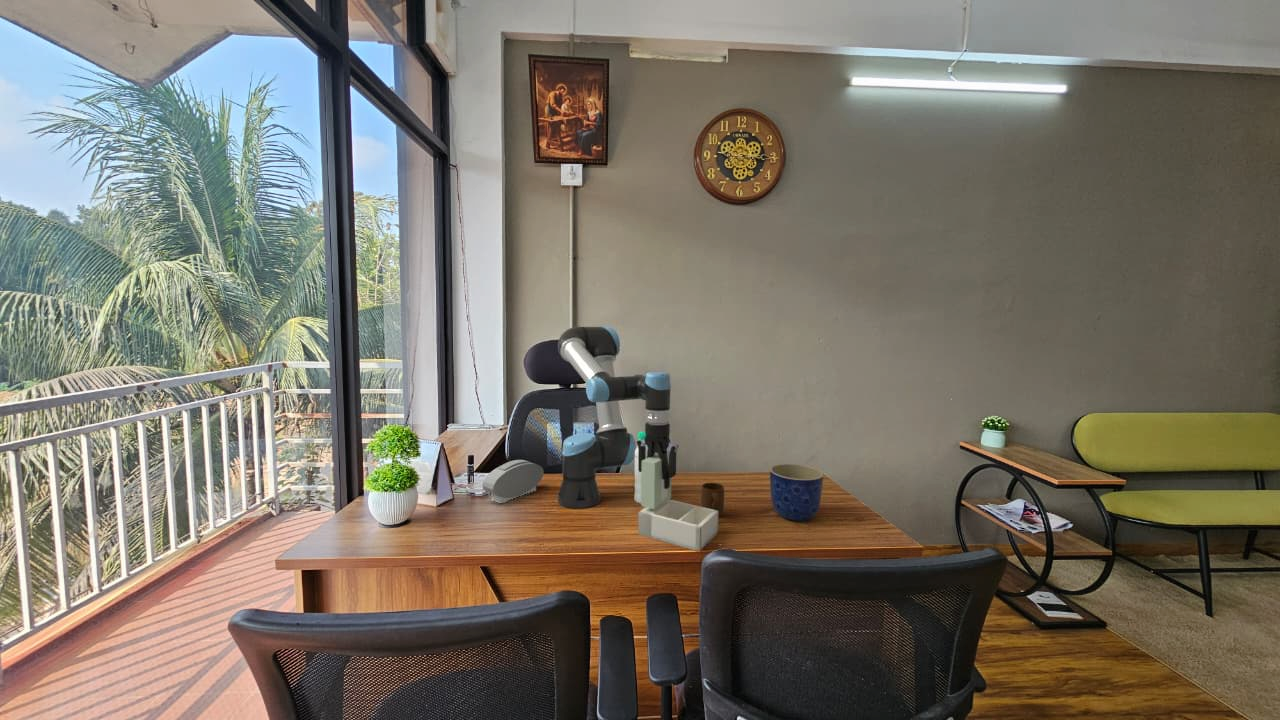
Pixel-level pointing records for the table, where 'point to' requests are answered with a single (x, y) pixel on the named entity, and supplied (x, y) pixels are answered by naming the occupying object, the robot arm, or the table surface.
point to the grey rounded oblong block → (512, 480)
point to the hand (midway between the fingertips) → (656, 496)
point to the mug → (713, 497)
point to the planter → (795, 490)
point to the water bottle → (638, 474)
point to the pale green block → (652, 482)
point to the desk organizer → (679, 524)
